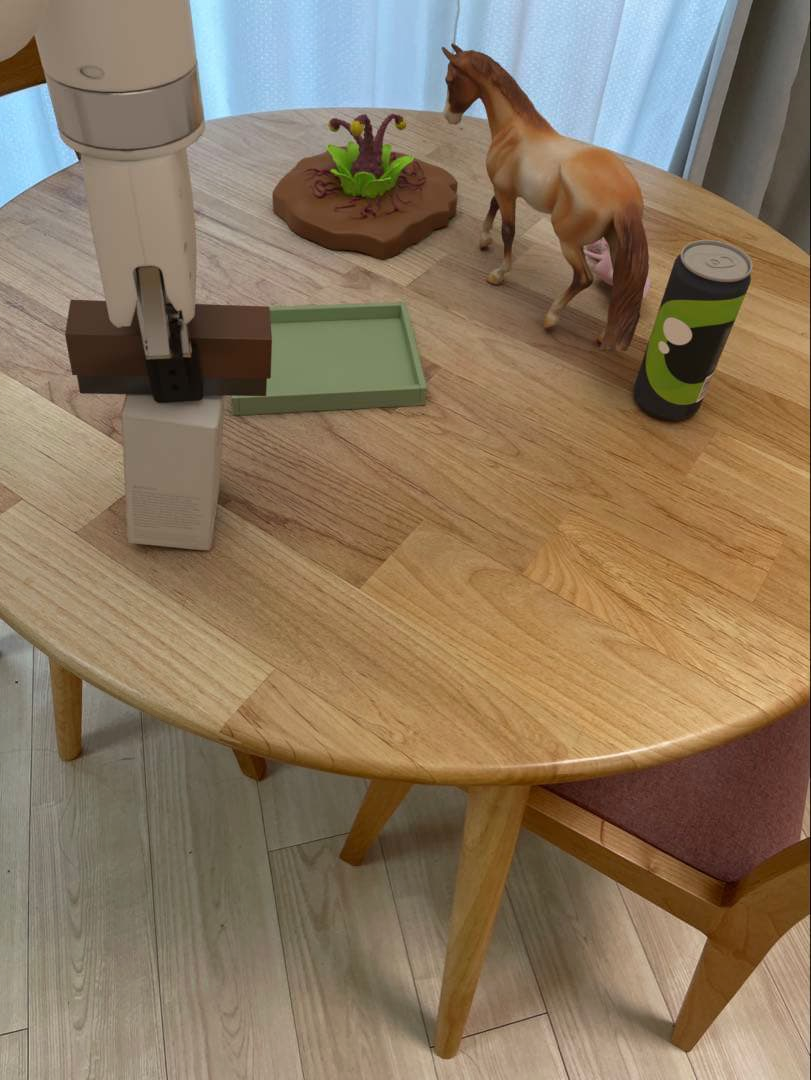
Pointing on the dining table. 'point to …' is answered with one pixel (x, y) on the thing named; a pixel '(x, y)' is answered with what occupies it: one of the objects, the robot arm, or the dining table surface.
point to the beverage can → (692, 328)
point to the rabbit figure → (606, 263)
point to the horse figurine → (555, 190)
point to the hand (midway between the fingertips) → (179, 375)
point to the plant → (365, 194)
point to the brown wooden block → (216, 331)
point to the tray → (339, 360)
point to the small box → (172, 469)
